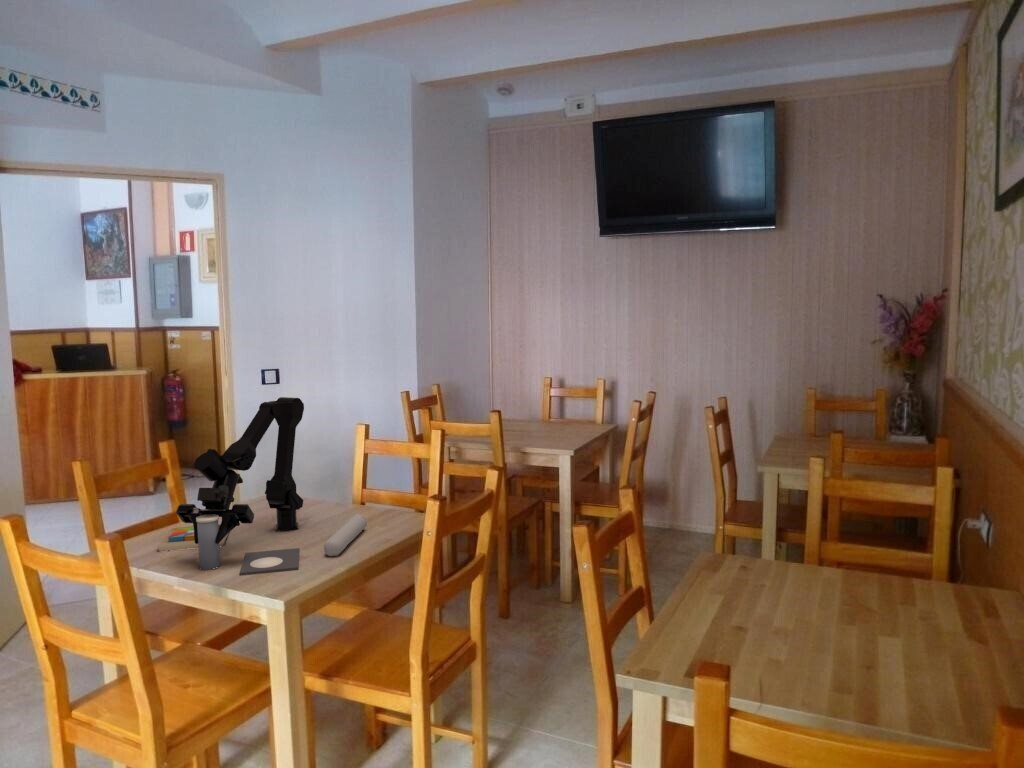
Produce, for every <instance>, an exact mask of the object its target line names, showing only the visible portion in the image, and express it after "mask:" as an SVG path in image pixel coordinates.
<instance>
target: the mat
mask: <svg viewBox="0 0 1024 768" xmlns="http://www.w3.org/2000/svg"><path fill="white" fill-rule="evenodd" d="M299 562H300V547H295V548H288V549H287V548H285V549H283V548H282V549H275V550H261V551H251V552H245V553H244V557H243V560H242V562H241V567H240V571H239V576H244V575H245V576H247V575H246V574H248V575H257V574H256V573H258V574H266V573H276V572H277V573H279V572H286V571H287V572H288V571H296V570H297V571H298V570H299V567H300V566H299V565H300V563H299Z"/></svg>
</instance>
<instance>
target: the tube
mask: <svg viewBox="0 0 1024 768" xmlns="http://www.w3.org/2000/svg"><path fill="white" fill-rule="evenodd" d="M367 520H368V519H367V517H365V516H364V515H362V514H357V513H356V514H355V513H354V514H353V515H352V516H351V518H349V520H348V521H346V523H344V524H343V525H342V526H341V527H340V528H338V530H337V531H336V532H334V533H333V534H332V535H331V536H330V538H328V539H327V541H326V542H325V543H324V545H323V549H324V550H323V552H324V553H325V554H326V555H327V556H329V557H338V556H339V555H340V554H341V553H342V552H343V551H344V550H345V549H346V548H347V547H348V546H349V545H350V544H351V543H352V542H351V541H352V540H353V541H354V540H355V539H356V538H357V537H358V535H359V534H360V533H361V532H363V531H364V530H365V529H366V527H368V521H367ZM362 530H363V531H362ZM350 542H351V543H350ZM349 543H350V544H349ZM348 544H349V545H348ZM347 545H348V546H347Z"/></svg>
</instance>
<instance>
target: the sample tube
mask: <svg viewBox="0 0 1024 768" xmlns="http://www.w3.org/2000/svg"><path fill="white" fill-rule="evenodd" d="M219 519H220V517H219V515H216V514H207V515H201V516H198V517H197V518H196V522H197V530H198V549H197V550H198V564H199V565H198V568H199V567H200V568H201V569H200V568H199V569H200V570H202V569H211V570H214V569H213V568H215V569H217V568H216V567H218V568H220V567H221V551H220V548H221V547H220V546H219V544H216V543H215V541H216V536H217V533H218V531H219V526H218V524H219ZM219 566H220V567H219Z"/></svg>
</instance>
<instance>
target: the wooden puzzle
mask: <svg viewBox="0 0 1024 768" xmlns="http://www.w3.org/2000/svg"><path fill="white" fill-rule="evenodd" d="M220 525H221V523H218V526H219V528H220ZM230 533H231V531H230V532H229V533H228V534H227V535H226V536H225V537H224V538H223V539H222V540H221V541H220V542H219V546H222V547H224V545H225V543H226V540H227V539H228V536H229V534H230ZM187 548H198V544H196V543H195V541H194V526H193V525H188V526H186V525H185V526H177V527H172V528H171V529H169V531H168V533H167V535H165V537H164V538H163V539H162V540H161V541H160V542H159V543H158V545H157V550H158V552H159V551H166V550H175V549H187Z"/></svg>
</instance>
